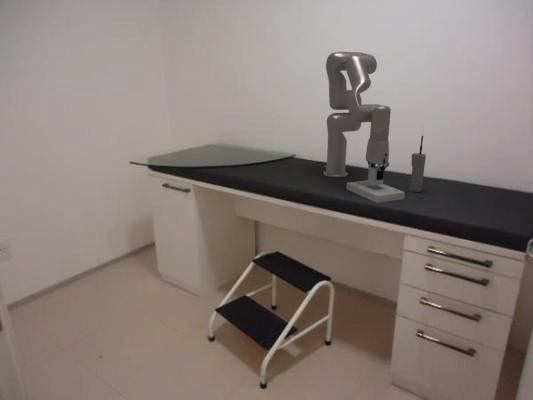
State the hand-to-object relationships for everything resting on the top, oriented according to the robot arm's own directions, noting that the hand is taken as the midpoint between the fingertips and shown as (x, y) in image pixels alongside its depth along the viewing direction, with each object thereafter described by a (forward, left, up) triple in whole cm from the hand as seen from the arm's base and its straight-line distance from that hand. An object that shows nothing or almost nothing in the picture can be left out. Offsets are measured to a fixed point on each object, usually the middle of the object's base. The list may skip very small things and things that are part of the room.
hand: (375, 177), depth 173 cm
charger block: (0, 0, -2) cm, 2 cm away
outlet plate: (0, 0, -7) cm, 7 cm away
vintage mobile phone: (+3, +20, -8) cm, 22 cm away
